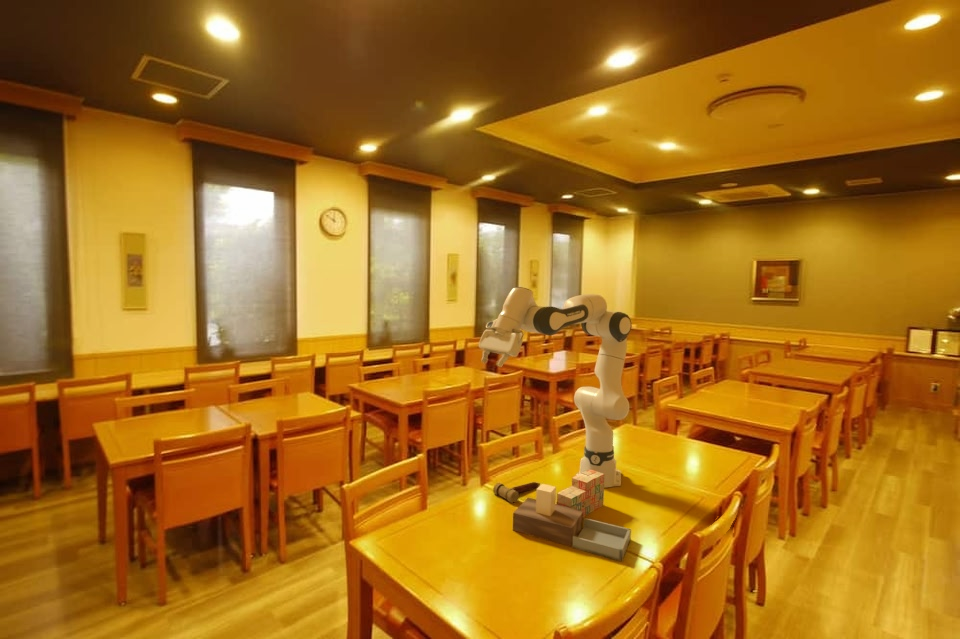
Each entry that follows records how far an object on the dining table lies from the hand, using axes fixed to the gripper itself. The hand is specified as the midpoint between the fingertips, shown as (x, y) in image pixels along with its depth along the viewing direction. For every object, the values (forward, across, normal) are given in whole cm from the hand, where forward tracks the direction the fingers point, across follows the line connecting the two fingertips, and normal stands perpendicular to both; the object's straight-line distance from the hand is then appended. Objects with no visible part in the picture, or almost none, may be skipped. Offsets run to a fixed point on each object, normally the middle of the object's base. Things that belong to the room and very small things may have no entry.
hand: (491, 364), depth 162 cm
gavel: (+38, +10, -45) cm, 59 cm away
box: (+38, -33, -44) cm, 67 cm away
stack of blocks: (+34, -14, -52) cm, 64 cm away
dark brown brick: (+42, -18, -36) cm, 58 cm away
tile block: (+37, -17, -32) cm, 52 cm away
